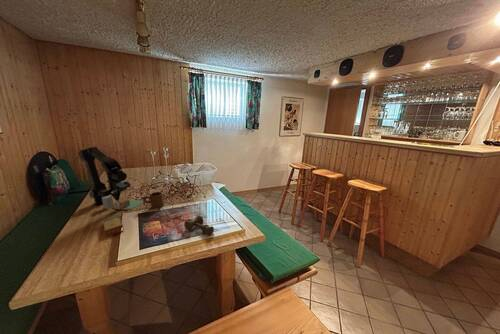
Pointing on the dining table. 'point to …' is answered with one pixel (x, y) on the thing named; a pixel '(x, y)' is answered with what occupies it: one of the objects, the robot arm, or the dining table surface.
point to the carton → (112, 225)
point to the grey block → (107, 202)
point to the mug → (155, 199)
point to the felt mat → (134, 203)
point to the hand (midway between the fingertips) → (117, 200)
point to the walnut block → (122, 204)
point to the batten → (122, 208)
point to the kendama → (199, 225)
